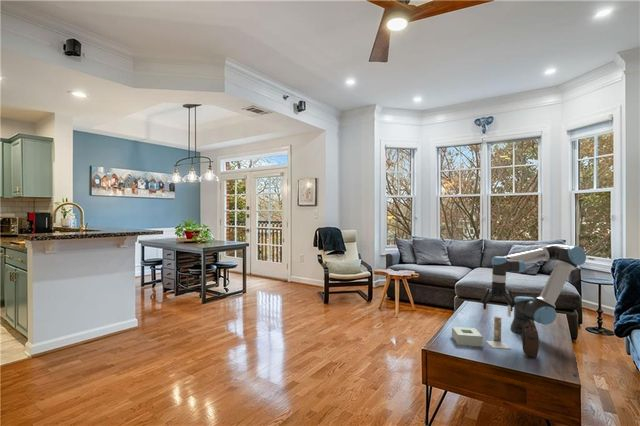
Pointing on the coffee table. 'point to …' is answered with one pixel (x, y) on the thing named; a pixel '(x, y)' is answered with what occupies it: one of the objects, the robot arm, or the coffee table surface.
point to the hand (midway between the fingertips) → (497, 315)
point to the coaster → (497, 344)
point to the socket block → (467, 336)
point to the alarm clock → (530, 340)
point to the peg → (497, 328)
